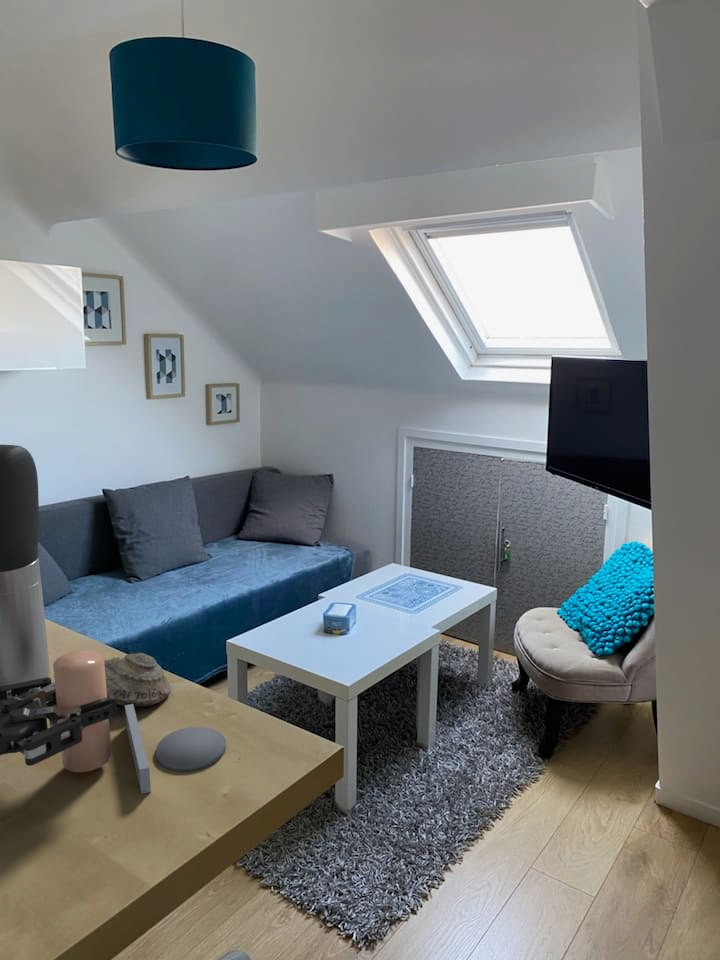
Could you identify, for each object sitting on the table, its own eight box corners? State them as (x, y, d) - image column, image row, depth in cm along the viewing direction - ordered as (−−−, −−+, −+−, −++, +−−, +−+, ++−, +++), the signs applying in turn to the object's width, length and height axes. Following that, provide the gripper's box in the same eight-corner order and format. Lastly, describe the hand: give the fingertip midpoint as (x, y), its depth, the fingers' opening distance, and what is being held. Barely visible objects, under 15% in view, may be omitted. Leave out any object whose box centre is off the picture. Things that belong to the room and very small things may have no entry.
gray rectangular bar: (126, 727, 92) (124, 705, 91) (134, 725, 92) (133, 703, 91) (141, 794, 79) (139, 769, 78) (150, 792, 79) (149, 767, 79)
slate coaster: (151, 739, 89) (151, 735, 89) (217, 725, 92) (217, 721, 92) (162, 777, 82) (161, 773, 82) (233, 760, 85) (232, 756, 85)
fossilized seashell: (137, 714, 91) (123, 659, 92) (71, 728, 95) (58, 675, 95) (185, 689, 101) (172, 639, 102) (123, 702, 105) (111, 654, 105)
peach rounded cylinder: (61, 750, 85) (52, 655, 82) (108, 740, 87) (101, 646, 84) (63, 776, 80) (54, 676, 77) (113, 765, 82) (106, 667, 79)
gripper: (-55, 749, 67) (128, 690, 77) (-81, 684, 78) (82, 641, 88) (-45, 820, 68) (132, 753, 79) (-72, 747, 79) (87, 697, 90)
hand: (105, 694), depth 83 cm, fingers closed on peach rounded cylinder, 5 cm apart
